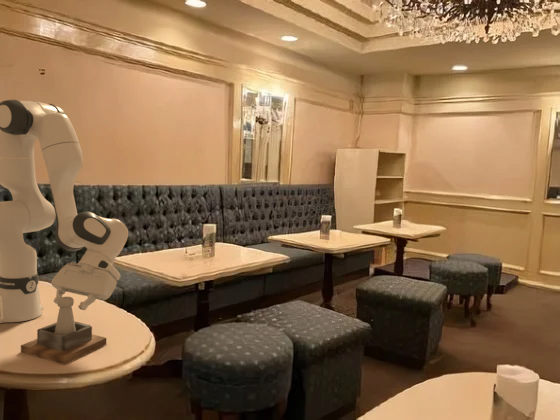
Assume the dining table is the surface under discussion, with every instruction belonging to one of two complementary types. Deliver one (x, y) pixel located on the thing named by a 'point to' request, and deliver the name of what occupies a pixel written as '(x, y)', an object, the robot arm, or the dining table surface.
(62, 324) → the beige round peg
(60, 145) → the robot arm
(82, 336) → the walnut socket board
